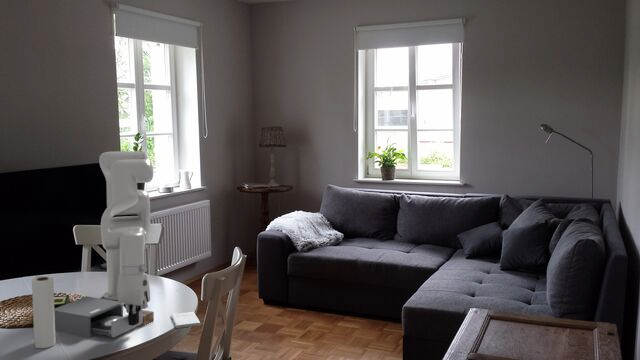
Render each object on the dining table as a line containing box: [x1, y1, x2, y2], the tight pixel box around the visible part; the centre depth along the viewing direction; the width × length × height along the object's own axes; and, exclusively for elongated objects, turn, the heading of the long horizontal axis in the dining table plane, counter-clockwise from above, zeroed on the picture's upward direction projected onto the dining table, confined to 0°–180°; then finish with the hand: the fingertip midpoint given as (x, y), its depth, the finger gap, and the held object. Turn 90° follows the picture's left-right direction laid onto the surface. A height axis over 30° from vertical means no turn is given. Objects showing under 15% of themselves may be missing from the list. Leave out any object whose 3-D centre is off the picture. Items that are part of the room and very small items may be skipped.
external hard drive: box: [170, 311, 201, 329], centre depth 208 cm, size 2×8×12 cm
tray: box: [91, 309, 143, 338], centre depth 198 cm, size 14×17×5 cm
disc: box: [100, 316, 121, 328], centre depth 198 cm, size 7×7×2 cm
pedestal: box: [139, 309, 155, 327], centre depth 205 cm, size 5×5×4 cm
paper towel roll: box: [31, 275, 57, 349], centre depth 184 cm, size 7×6×21 cm
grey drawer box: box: [54, 296, 124, 338], centre depth 201 cm, size 16×16×7 cm
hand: (133, 324), depth 194 cm, fingers closed
